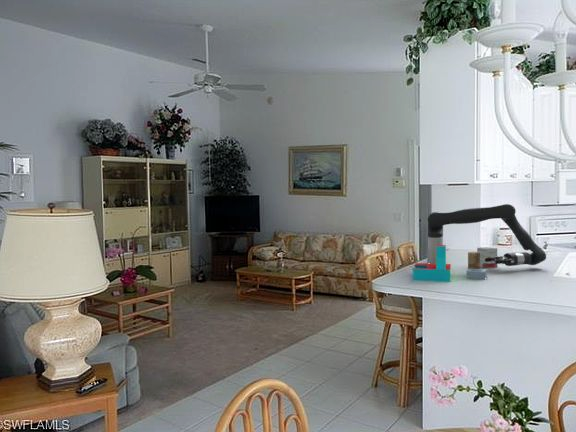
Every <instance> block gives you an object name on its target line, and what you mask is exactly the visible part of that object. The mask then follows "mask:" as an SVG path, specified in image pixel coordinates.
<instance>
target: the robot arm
mask: <svg viewBox="0 0 576 432" xmlns="http://www.w3.org/2000/svg"><path fill="white" fill-rule="evenodd" d="M516 211H517V210H516V208H515V207H514V206H513V204H512V205H511V204H508V203H506V204H500V205H495V206H489V207H488V206H487V207H472V208H464V209H460V210H459V209H458V210H455V211H450V212H439V211H434V212H431V213H430V214H429V215H428V217H427V227H428V228H427V250H426V252H427V253H426V254H427V255H426V263H430V264H436V246H437V245H444V226H446V225H452V224H453V225H460V224H461V225H463V224H465V225H466V224H476V223H480V222H484V221H488V220H493V219H495V220H497V219H500V220H502V221H503V222H504V224H506V225H507V227H508V228H509V229H510V231H511V232H512V233H513V234H514V236H515V238H516V239H517V241H518V243H519V244H520V246H521V247H522V249H523V250H524V251H525V252H506V253H504V255H500V256H498V255H497V256H492V257H489V258H485V262H495V264H497V265H499V264H502V265H505V266H507V267H513V266H521V265H530V266H536V265H538V264H540V263H542V262H544V261H546V260H547V254H546V252H545V251H544V250H543V249H542V248H541V247H540V246H539V245H538V244H537V243H535V241H534V240H533V238H532V237H531V236H530V234H529V232H528V231H527V230H526V229H525V228H524V227H523V225H521V223H520V222H519V221H518V219H517V217H516ZM527 251H530V252H531V253H529V252H527Z"/></svg>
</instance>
